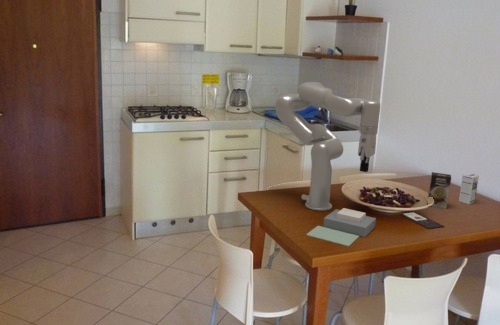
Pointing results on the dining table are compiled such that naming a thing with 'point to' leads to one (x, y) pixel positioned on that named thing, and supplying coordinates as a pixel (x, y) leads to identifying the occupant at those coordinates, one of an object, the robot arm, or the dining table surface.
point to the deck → (349, 224)
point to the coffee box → (439, 189)
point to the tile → (351, 215)
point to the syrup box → (468, 188)
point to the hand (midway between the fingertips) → (363, 171)
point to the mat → (332, 235)
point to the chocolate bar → (422, 220)
